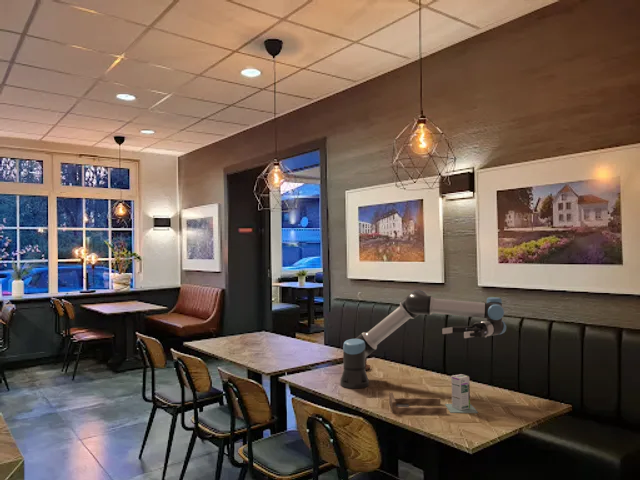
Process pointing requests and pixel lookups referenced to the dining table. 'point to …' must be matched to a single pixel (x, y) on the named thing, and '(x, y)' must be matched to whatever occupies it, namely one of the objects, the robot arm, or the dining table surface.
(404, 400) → the walnut lane
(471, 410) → the pad
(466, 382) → the syrup box
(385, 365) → the dining table surface
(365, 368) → the cup and saucer
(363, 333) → the robot arm
